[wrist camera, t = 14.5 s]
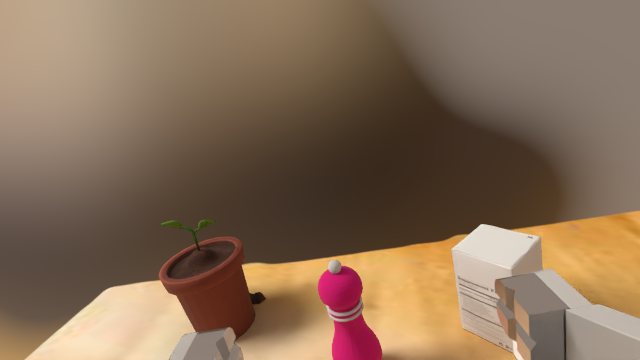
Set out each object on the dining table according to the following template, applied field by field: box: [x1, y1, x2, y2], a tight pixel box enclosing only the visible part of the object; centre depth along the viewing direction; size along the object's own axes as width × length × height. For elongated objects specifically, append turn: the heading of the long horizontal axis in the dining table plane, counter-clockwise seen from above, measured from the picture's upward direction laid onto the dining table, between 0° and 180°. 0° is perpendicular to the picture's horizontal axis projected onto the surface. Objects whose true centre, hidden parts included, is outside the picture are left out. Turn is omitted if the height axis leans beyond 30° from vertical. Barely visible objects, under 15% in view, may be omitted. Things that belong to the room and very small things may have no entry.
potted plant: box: [159, 220, 265, 339], centre depth 67 cm, size 18×22×25 cm
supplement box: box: [452, 224, 543, 353], centre depth 50 cm, size 9×9×15 cm
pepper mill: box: [318, 260, 382, 360], centre depth 46 cm, size 7×7×20 cm
